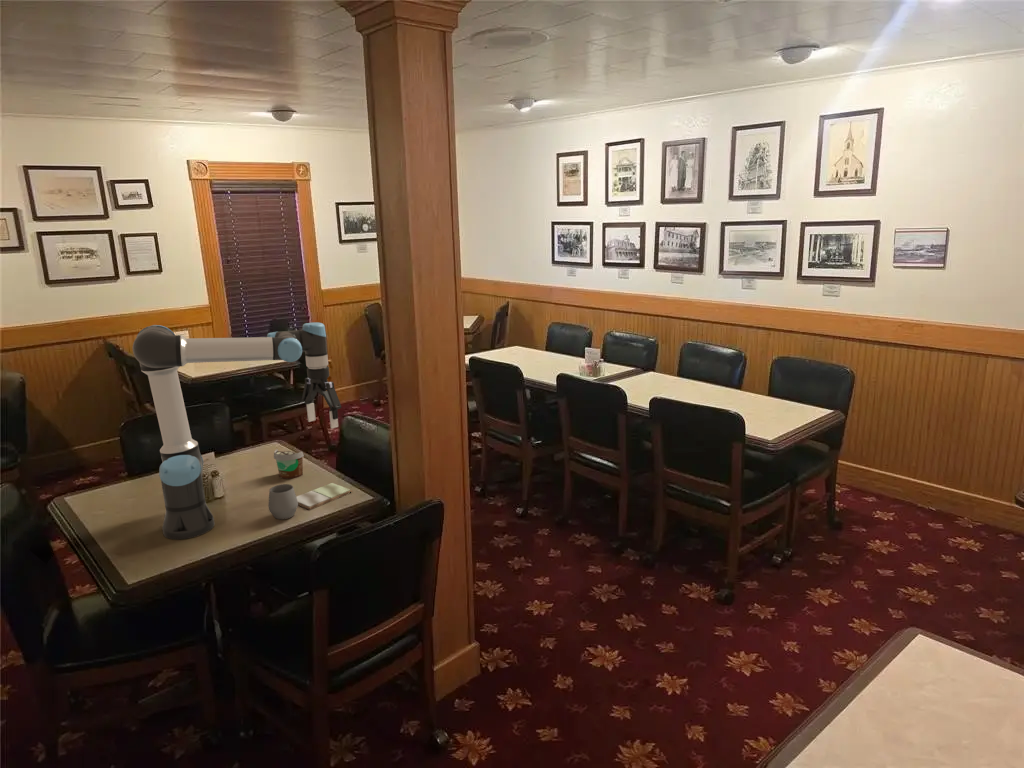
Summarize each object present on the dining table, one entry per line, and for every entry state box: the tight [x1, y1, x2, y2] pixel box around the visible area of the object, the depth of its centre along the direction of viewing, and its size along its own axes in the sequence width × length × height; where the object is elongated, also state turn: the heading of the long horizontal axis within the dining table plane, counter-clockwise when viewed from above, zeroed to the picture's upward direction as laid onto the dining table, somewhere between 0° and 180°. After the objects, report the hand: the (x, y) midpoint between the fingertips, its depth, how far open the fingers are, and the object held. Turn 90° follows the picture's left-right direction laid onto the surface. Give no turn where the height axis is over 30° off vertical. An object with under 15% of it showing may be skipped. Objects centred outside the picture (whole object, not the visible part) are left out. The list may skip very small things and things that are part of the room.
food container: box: [273, 448, 305, 480], centre depth 256 cm, size 12×6×10 cm, turn 73°
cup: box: [267, 483, 299, 520], centre depth 222 cm, size 10×9×10 cm
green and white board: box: [296, 482, 353, 510], centre depth 238 cm, size 18×12×1 cm, turn 142°
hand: (323, 424), depth 239 cm, fingers open, 13 cm apart
